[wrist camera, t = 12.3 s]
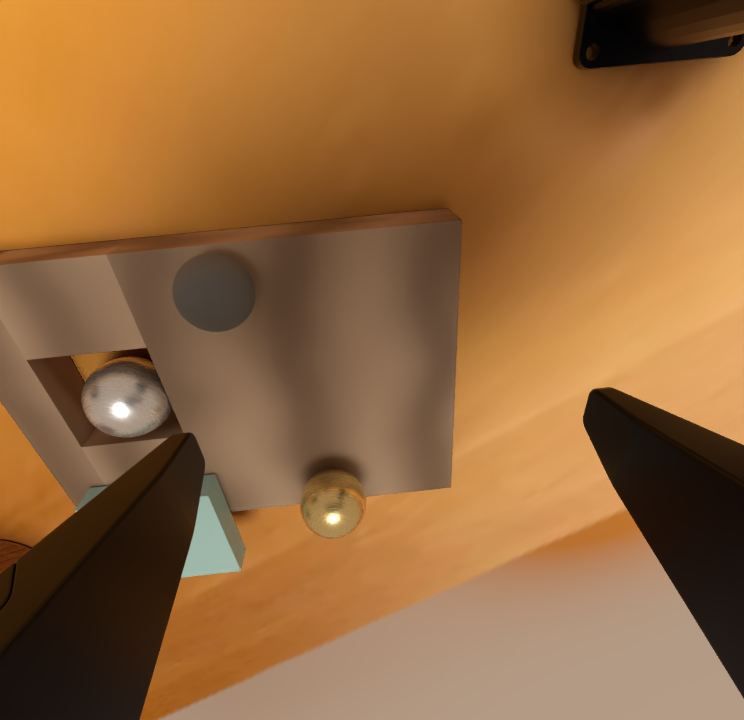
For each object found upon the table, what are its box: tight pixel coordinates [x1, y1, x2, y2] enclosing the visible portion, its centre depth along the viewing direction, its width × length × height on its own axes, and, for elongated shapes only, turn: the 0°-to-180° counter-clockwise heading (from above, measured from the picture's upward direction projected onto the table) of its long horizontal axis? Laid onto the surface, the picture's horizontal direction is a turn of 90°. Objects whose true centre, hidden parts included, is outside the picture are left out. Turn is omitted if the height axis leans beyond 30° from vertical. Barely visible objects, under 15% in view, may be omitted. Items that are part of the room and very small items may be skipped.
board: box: [0, 208, 462, 512], centre depth 21 cm, size 22×16×2 cm
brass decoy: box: [300, 469, 366, 539], centre depth 22 cm, size 4×4×4 cm
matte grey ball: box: [172, 253, 256, 332], centre depth 16 cm, size 3×3×3 cm
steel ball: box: [81, 357, 173, 437], centre depth 20 cm, size 4×4×4 cm
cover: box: [75, 474, 246, 578], centre depth 23 cm, size 7×7×2 cm
